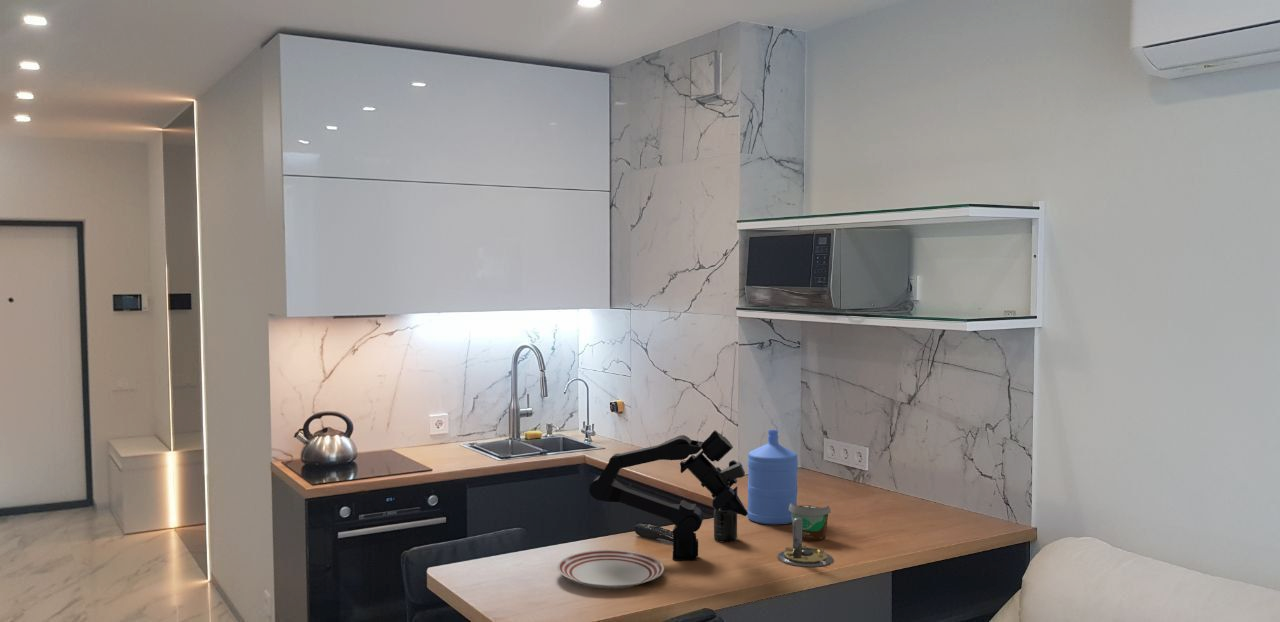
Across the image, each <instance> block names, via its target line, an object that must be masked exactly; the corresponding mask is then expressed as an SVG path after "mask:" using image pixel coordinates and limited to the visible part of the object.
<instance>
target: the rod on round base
mask: <svg viewBox="0 0 1280 622" xmlns="http://www.w3.org/2000/svg"><path fill="white" fill-rule="evenodd" d="M802 548H809V549H812V550H813V554H812V555H802ZM783 551H784V558H786V559H787V560H790V561H793V562H798V563H819V561H821V560H822V561H825V560H826V559H827V554H828V553H827V552H826V551H825V549H823V548H814V547H807V545H805V544H804V545H803V541H802V518H793V528H792V547H785V550H783Z"/></svg>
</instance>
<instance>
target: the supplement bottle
mask: <svg viewBox="0 0 1280 622" xmlns="http://www.w3.org/2000/svg"><path fill="white" fill-rule="evenodd" d="M713 538H714V540H715V541H716V540H718V541H717V542H719V541H723V542H722V543H731V542H730V541H732V542H735V541H736V540H737V539H738V513H736V512H734V511H731V510H729V509H726V508H723V507H721V508H720V509H719V510H718V511H717V510H716V509H715V508H714V509H713Z"/></svg>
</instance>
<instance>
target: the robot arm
mask: <svg viewBox="0 0 1280 622" xmlns="http://www.w3.org/2000/svg"><path fill="white" fill-rule="evenodd" d="M733 448H734V447H733V445H732V443H731V442H730V440H729V439H728V438H727V437H726V436H723V434H721V433H719V432H718V431H717V430H716V429H714V430H713V431H712V432H711V434H710V435H709V436H708V437H707V438H706V439H705V440H704V441H701V440H700V441H699V440H692V439H691V438H690V437H688V436H687V435H684V434H681V435H680V434H679V435H678V436H674V437H672V438H670V439H668V440H666V441H664V442H662V443H660V444H658V445H652V446H648V447H644V448H639V449H636V450H630V451H626V452H622V453H615V454H613V455H612V456H610V458H609V460H608V463H607V464H606V466H605V468H604V469H603V470H602V472H601V474H600V475H598V476H597V477H596V478H595V479H594V480H593V481H592V482H591V483H590V485H589V491H588V492H589V494H590V497H591V498H592V499H593V500H595V501H600V502H606V503H621V504H623V505H626V506H629V507H632V508H634V509H637V510H640V511H643V512H646V513H649V514H652V515H653V516H654V515H655V516H658V517H661V518H663V519H664V520H665V519H666V520H668V521H669V522H671V523H672V524H673V525H674V527H673V529H672V538H673V539H672V560H673V561H674V560H675V561H676V560H677V561H679V560H680V561H696V560H697V557H698V556H699V539H698V538H697V531H699V530H700V528H701V526H702V523H703V521H704V514H703V511H702V509H701V508H700V507H697V506H696V505H697V503H690V502H688V501H686V500H684V499H682V500H681V501H680V502H679V504H677V503H675V504H674V503H670V502H668V501H665V500H662V499H661V498H660V499H659V498H657V497H654V496H650V495H648V494H645V493H642V492H640V491H636V490H634V489H631V488H627V487H625V486H624V485H623V484H622V483H620V482H619V481H618V480H617V479H616V477H617V476H618V474H619V472H620V471H621V469H626V468H629V467H633V466H638V465H642V464H648V463H651V462H655V461H662V460H664V461H680V463H679V464H680V473H681V474H683V473H684V472H685V471H686V470H688V471H689V472H690V473H691V474H692V475H693V476H694V477H695V478H696V479H697V480H698V481H699V483H700V485H701V487H702V488H704V487H705V489H706V490H707V491H708V492H710V493H711V497H712V507H713V508H714V509H716V510H717V511H718V510H719V509H720V508H721V507H723V508H726V509H729V510H731V511H734V512H736V513H737V515H738V514H739V515H740V516H743V517H746V516H747V514H748V512H747V509H746V507H745V505H744V504H743V502H742V501H741V499H740V497H739V496H738V488H739V487H738V486H735V487H734V488H732V486H734V485H736V484H737V482H738V478H739V479H740V478H743V477H744V476H745V473H746V471H745V469H744V468H743V464H742V463H741V462H740V461H739V462H737V461H736V460H734V459H733V460H730V461H728V466H727V467H725V468H723V469H721V468H720V467H718V466H715V465H714V464H713V463H712V462H720V461H721V460H722V459H723V458H724V457H725V456H726V455H727V454H728V453H729V452H730V451H731V450H732V449H733ZM685 459H686V460H685ZM682 460H685V461H682Z"/></svg>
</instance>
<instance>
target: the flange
mask: <svg viewBox="0 0 1280 622" xmlns="http://www.w3.org/2000/svg"><path fill="white" fill-rule="evenodd" d="M809 548H810V547H808V548H802V555H812V554H813V550H812V549H809ZM784 551H785V550H783V551H781V552H780V553H778V554H777V559H778V561H780V562H781V561H782V562H781V563H783V562H784V563H783V564H786V565H790V566H794V567H799V568H801V567H802V568H817V567H818V568H820V567H824V566H828V565H830V564H832V563H833V561H834V558H833V556H832V555H830V554H828V553H826V554H827V559H826V560H825V561H822V560H821V561H819V563H798V562H793V561H790V560H787V559H786V558H784Z"/></svg>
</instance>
